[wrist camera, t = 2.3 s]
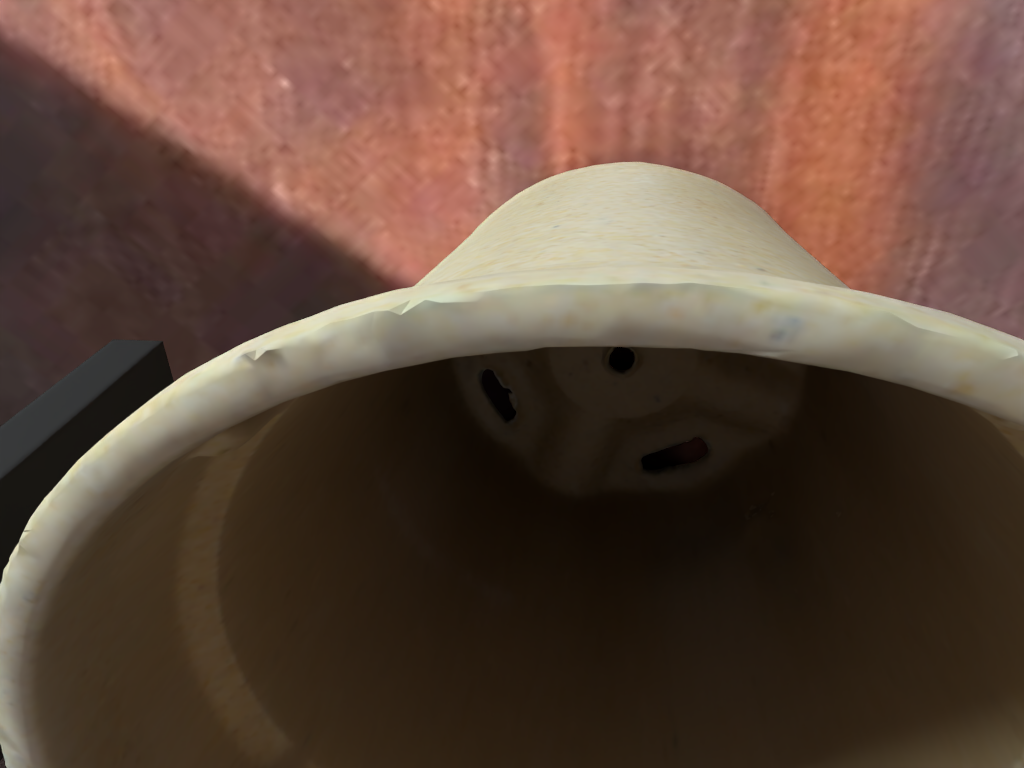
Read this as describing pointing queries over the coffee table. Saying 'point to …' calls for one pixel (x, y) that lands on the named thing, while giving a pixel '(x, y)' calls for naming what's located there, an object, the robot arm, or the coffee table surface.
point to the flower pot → (549, 521)
